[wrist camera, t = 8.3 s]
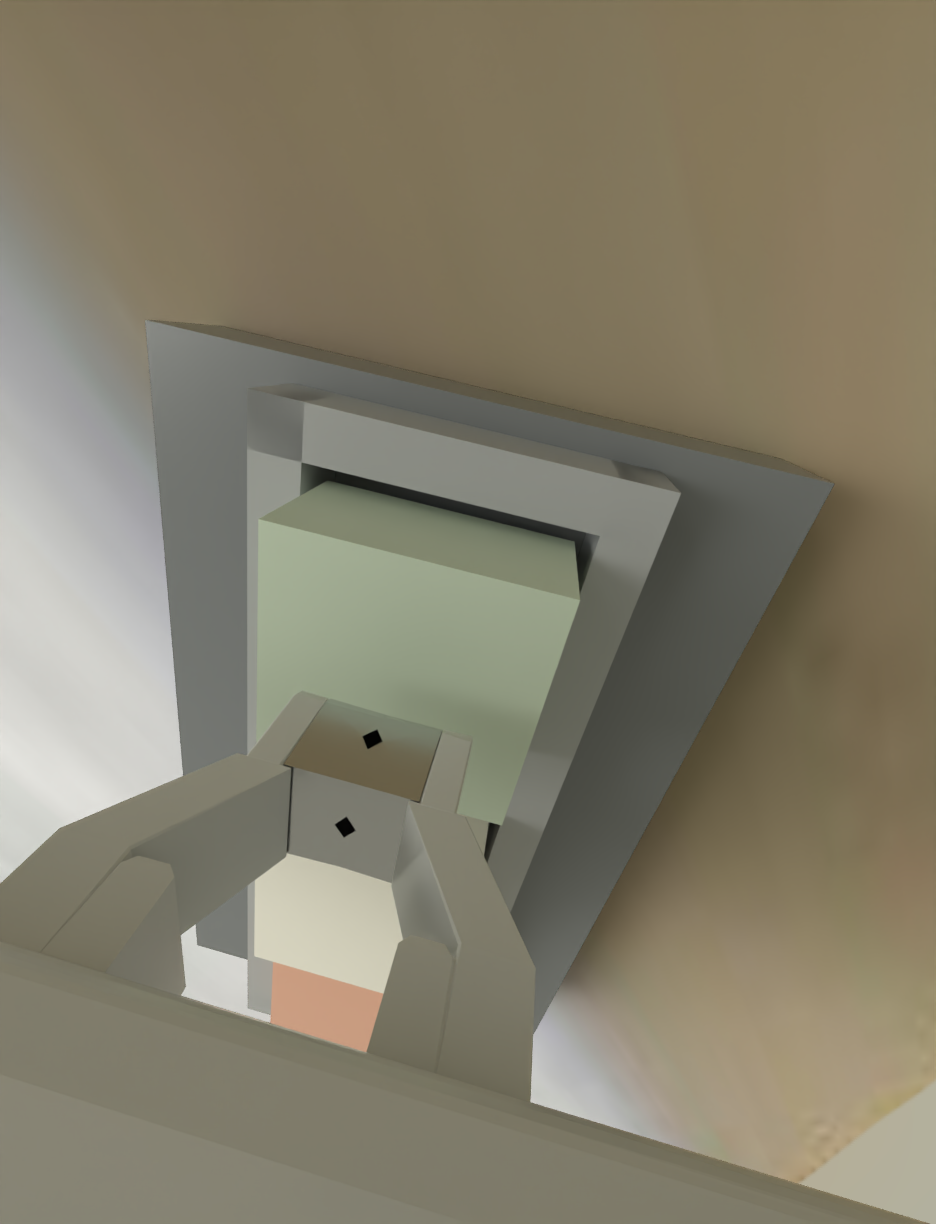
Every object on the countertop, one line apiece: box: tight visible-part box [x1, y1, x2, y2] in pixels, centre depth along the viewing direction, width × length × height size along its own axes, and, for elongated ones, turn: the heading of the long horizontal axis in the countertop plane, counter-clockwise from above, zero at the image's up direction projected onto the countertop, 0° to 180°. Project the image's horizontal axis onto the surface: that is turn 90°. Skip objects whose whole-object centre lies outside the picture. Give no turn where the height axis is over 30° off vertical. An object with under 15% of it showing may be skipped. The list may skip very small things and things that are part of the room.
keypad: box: [145, 320, 834, 1034], centre depth 18 cm, size 16×26×5 cm, turn 168°
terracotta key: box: [270, 962, 383, 1052], centre depth 20 cm, size 6×6×3 cm
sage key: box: [256, 480, 580, 825], centre depth 11 cm, size 6×6×3 cm
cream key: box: [254, 813, 489, 994], centre depth 15 cm, size 6×6×3 cm
